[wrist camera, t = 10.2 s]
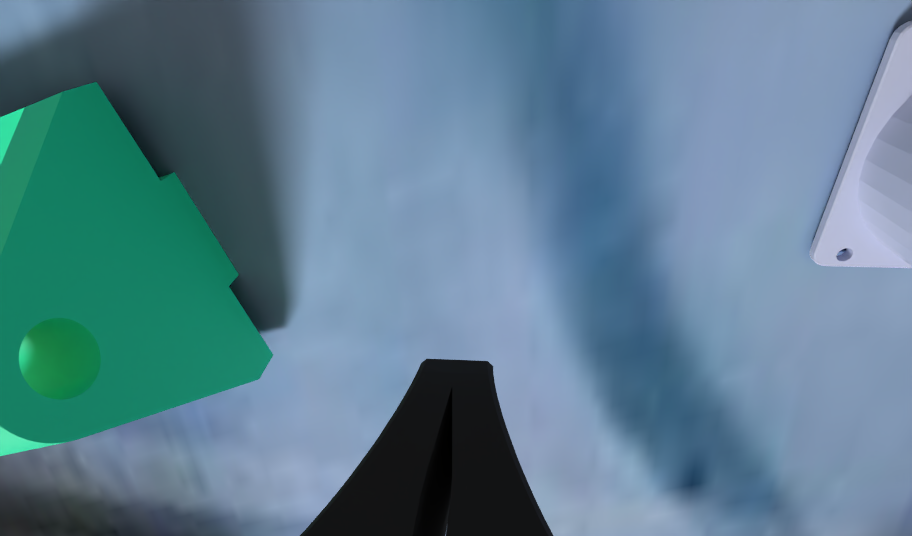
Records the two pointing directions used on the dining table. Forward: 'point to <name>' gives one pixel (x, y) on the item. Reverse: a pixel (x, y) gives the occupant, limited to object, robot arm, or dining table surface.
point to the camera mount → (105, 281)
